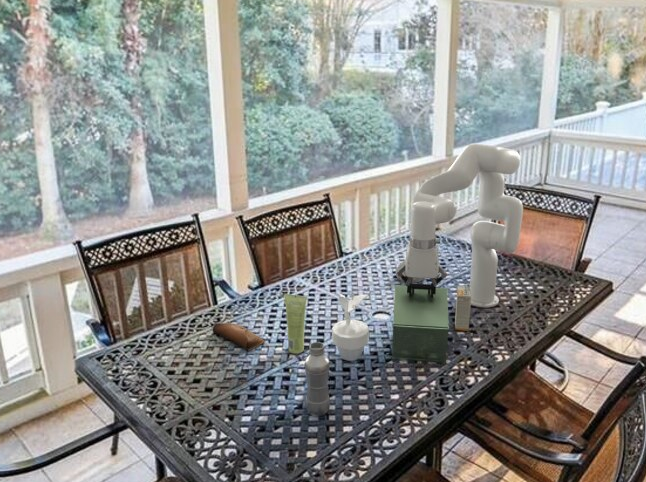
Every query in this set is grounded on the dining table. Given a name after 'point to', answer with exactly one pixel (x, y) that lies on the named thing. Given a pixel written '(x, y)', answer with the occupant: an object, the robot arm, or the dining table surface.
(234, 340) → the sunglasses case
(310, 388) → the plastic bottle
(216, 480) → the dining table surface
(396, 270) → the sea urchin shell
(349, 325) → the potted plant
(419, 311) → the bin lid
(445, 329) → the green storage bin
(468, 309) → the supplement box
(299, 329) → the tube
